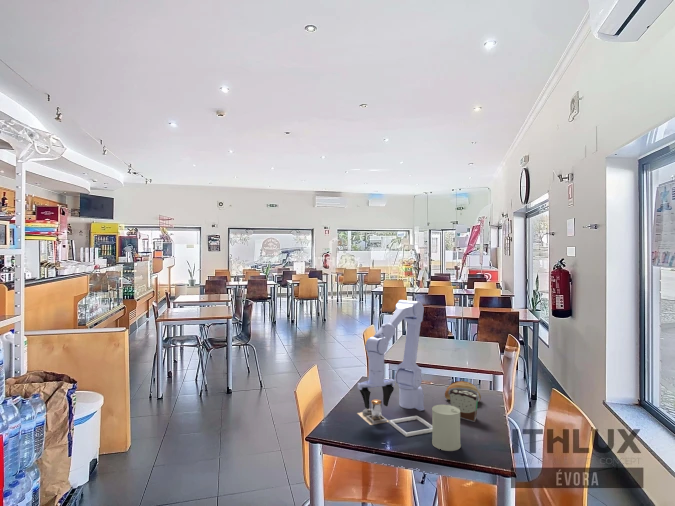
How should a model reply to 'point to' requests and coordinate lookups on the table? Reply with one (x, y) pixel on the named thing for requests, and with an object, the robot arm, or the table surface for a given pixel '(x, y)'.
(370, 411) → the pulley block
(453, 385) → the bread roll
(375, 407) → the glass shaker
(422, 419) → the white square frame
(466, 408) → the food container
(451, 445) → the can
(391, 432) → the table surface
